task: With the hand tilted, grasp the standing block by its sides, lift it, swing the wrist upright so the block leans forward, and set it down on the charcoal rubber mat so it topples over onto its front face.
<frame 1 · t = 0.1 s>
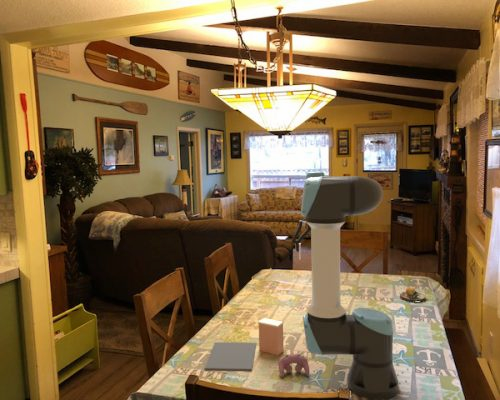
hand: (316, 259, 176), 28 cm above the table, tool pointing down, fingers open, 13 cm apart
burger: (412, 299, 206), on the table
mat: (232, 356, 151), on the table
block: (271, 350, 154), on the table
video game controller: (293, 373, 138), on the table
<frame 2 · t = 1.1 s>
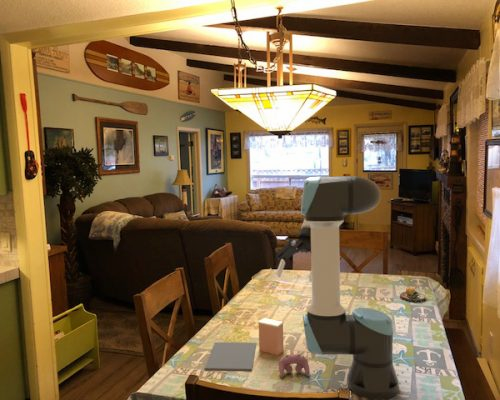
hand: (293, 277, 158), 26 cm above the table, tool tilted 45°, fingers open, 13 cm apart
nothing on the table moved.
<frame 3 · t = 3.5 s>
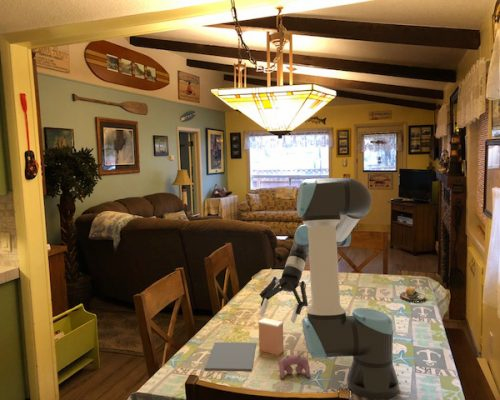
hand: (276, 318, 159), 10 cm above the table, tool tilted 45°, fingers open, 13 cm apart
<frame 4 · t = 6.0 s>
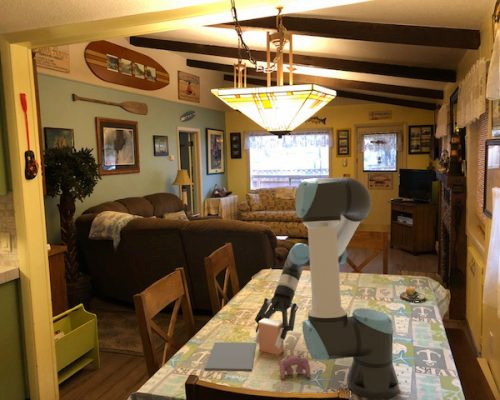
hand: (266, 344, 151), 4 cm above the table, tool tilted 45°, fingers closed on block, 8 cm apart
block: (271, 350, 154), on the table, touching gripper
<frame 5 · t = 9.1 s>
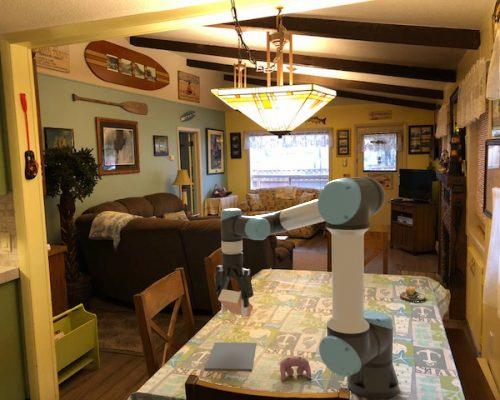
hand: (234, 313, 151), 15 cm above the table, tool pointing down, fingers closed on block, 8 cm apart
block: (242, 309, 156), point 15 cm above the table, tilted 45°, touching gripper
when the fingers open (4 cm above the table, at t = 11.6 s): block moves 2 cm and tips over, resting on mat.
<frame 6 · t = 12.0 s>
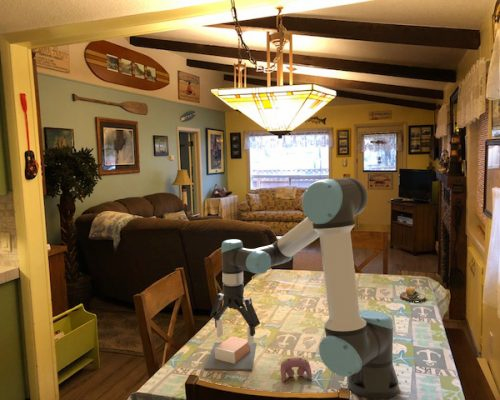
hand: (235, 340, 152), 5 cm above the table, tool pointing down, fingers open, 13 cm apart
block: (241, 343, 155), point 3 cm above the table, tilted 90°, touching mat
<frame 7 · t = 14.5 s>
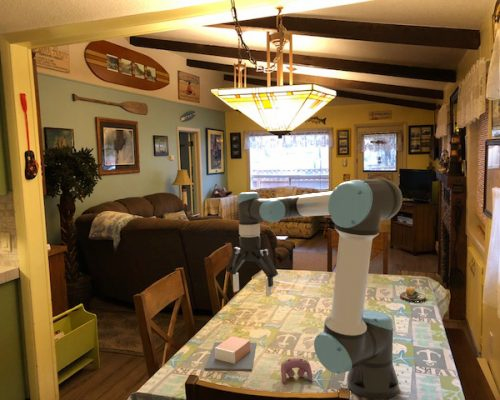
hand: (252, 293, 152), 22 cm above the table, tool pointing down, fingers open, 13 cm apart
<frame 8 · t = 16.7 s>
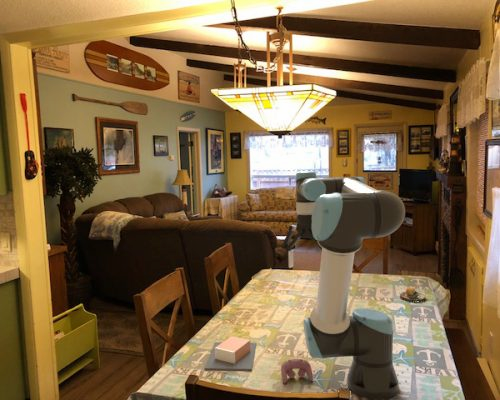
hand: (307, 269, 157), 29 cm above the table, tool pointing down, fingers open, 13 cm apart
at the end: block tilted 90°; block inside the target area on the mat (5.7 cm from its centre), point 2.6 cm above the mat's base; the gripper is holding nothing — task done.
